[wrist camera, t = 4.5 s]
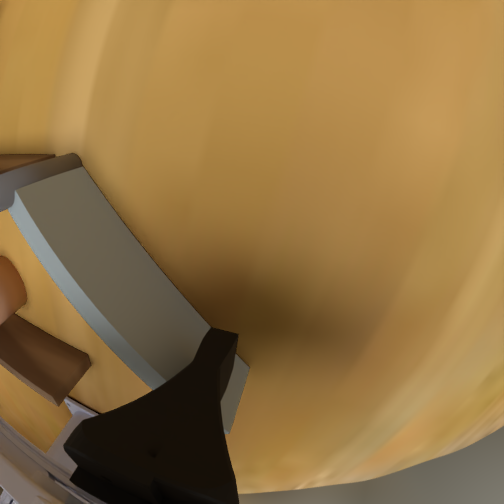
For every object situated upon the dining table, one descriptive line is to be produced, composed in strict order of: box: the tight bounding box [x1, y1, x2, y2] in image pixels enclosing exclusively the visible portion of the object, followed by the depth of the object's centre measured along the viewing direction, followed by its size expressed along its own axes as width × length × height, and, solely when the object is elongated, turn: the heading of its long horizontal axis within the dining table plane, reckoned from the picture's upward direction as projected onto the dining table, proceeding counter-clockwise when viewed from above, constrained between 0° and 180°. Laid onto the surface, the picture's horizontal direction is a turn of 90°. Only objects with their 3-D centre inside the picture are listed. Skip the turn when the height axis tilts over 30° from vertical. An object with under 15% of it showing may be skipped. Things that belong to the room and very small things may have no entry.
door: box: [0, 153, 250, 434], centre depth 11 cm, size 14×1×5 cm, turn 38°
